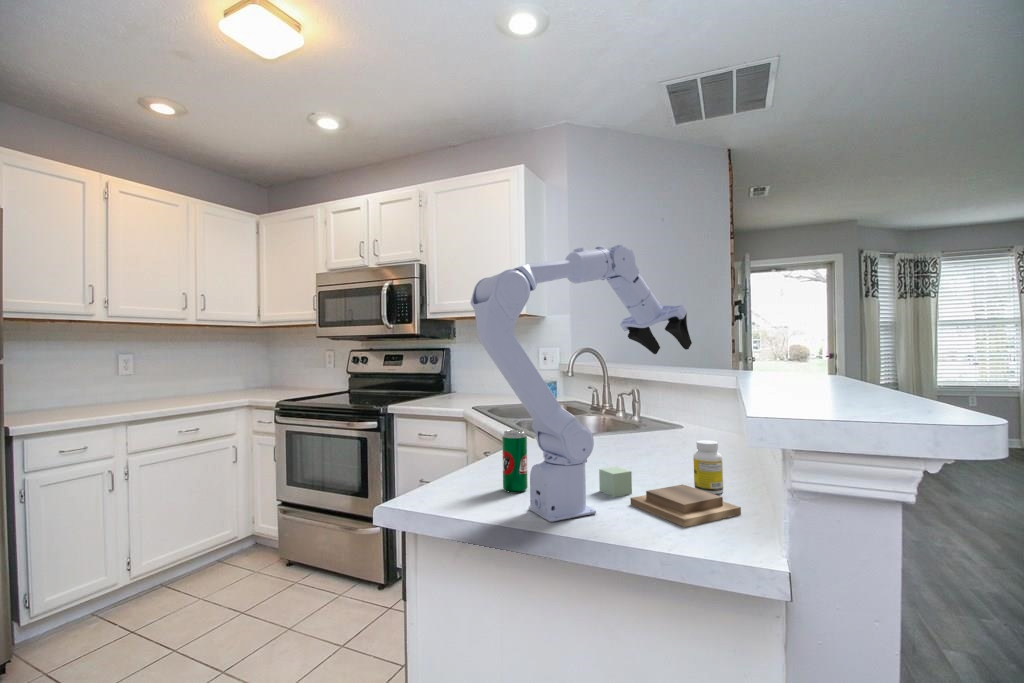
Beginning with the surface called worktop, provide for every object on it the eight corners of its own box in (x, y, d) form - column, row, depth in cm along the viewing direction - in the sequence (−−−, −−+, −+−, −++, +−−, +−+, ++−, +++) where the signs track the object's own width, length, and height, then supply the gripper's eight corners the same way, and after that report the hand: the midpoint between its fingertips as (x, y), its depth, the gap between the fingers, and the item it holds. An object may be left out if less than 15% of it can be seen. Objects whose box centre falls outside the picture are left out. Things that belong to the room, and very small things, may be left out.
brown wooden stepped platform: (684, 527, 75) (684, 510, 75) (630, 504, 86) (630, 489, 86) (740, 514, 80) (740, 498, 80) (682, 494, 92) (682, 480, 92)
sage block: (613, 497, 91) (613, 474, 91) (599, 491, 95) (599, 469, 95) (631, 494, 93) (631, 471, 93) (617, 488, 97) (617, 466, 97)
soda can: (525, 494, 94) (524, 433, 94) (500, 493, 95) (499, 433, 95) (529, 487, 99) (528, 429, 99) (505, 486, 100) (505, 429, 100)
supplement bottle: (698, 485, 98) (696, 438, 98) (726, 489, 95) (724, 441, 95) (691, 492, 94) (689, 442, 94) (720, 496, 91) (718, 445, 91)
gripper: (676, 277, 89) (711, 330, 93) (618, 294, 101) (651, 340, 105) (662, 299, 85) (698, 354, 89) (603, 315, 97) (638, 362, 101)
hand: (672, 348), depth 97 cm, fingers open, 7 cm apart
